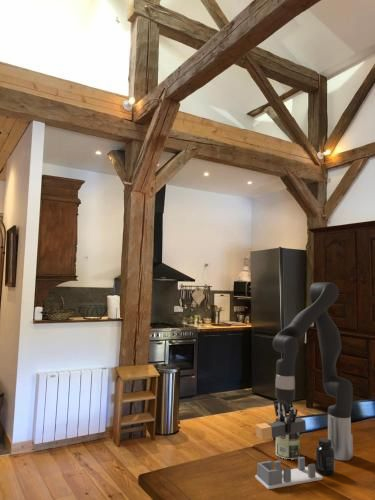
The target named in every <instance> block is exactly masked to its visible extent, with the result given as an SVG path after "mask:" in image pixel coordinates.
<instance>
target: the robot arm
mask: <svg viewBox="0 0 375 500" xmlns="http://www.w3.org/2000/svg"><path fill="white" fill-rule="evenodd" d="M339 293H340V291H339V288H338V285H336V284H335V283H333V282H328V281H327V282H320V281H319V282H313V283H312V284H311V285H310V287H309V298H310V299H309V300H310V303H311V304H310V305H309V306H307V307H305V308H304V309H303V310H301V311H300V312H299V313H297V315H295V317H294V318H293V319H292V321H291V322H290V323H289V324H288V325H287V326H285V327H283V329H282V330H280V331H279V332H278V333H277V334H276V335H275V336H274V338H273V340H272V347H273V350H275V352H278V353H281V354H283V357H282V358H279V359H277V360H276V364H275V368H276V371H275V373H276V374H275V392H274V395H275V398H276V399H277V400H273V407H274V413H275V416H276V417H277V418H278V419H279V422H281V421H285V433H291V423H295V420H296V418H297V416H298V412H299V411H298V409H297V408H294V405H293V401H294V400H295V399H296V380H295V363H296V360H297V356H298V353H299V342H298V340H297V339H301V338H303V337H304V336H305V334H306V333H307V331H309V328H311V326H312V325H313V324H314V322H315V324H316V325H315V326H316V331H317V339H318V345H319V350H320V356H321V357H320V358H321V367H322V368H321V369H322V386H323V391H324V392H325V394H327V396H329V397H331V398H334V399H335V404H332V405H329V406H328V407H327V439H329V440H331V444H332V446H331V447H332V448H333V449H334V458H335V460H336V461H337V460H338V461H344V462H345V461H350V460H351V459H353V458H354V442H353V441H354V438H353V436H354V435H353V434H352V433H351V431H352V429H351V427H352V425H351V423H352V421H351V419H352V418H351V413H352V409H353V399H354V398H353V397H354V393H353V392H354V390H353V384H352V382H351V381H350V380H349V379H348V378H345V377H341V376H338V372H337V360H338V358H339V356H340V353H341V351H342V337H341V334H340V330H339V328H338V326H337V325H336V324H335V321H333V319H332V317H331V316H330V315H329V312H328V309H329V308H330V307H331V306H332V305H334V303H335V302H336V301H337V300H338V298H339ZM287 417H288V419H287ZM292 418H293V419H292ZM284 419H285V420H284Z"/></svg>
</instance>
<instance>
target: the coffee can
mask: <svg viewBox="0 0 375 500" xmlns="http://www.w3.org/2000/svg"><path fill="white" fill-rule="evenodd" d="M288 418H289V417H287V419H288ZM292 419H293V418H292ZM284 420H285V419H284ZM275 422H279V419H278V417H277V418H275V421H274V423H275ZM300 450H301V449H300V432H298V433H294V434H289V435H284V436H279V437H275V453H274V454H275V455H276V456H277V457H278V456H279V457H278V458H280V457H281V459H283V458H284V459H283V460H287V459H291V460H290V461H294V459H295V460H298V457H301V455H300Z"/></svg>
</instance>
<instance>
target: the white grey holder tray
mask: <svg viewBox="0 0 375 500" xmlns="http://www.w3.org/2000/svg"><path fill="white" fill-rule="evenodd" d="M256 464H257V465H256V468H257V469H256V475H254V478H255V479H256V480H257V481H258V482H259V483H261V485H262V486H264V487H265V488H266V489H267V490H273V489H276V488H282V487H283V488H284V487H289V486H295V485H299V484H305V483H311V482H316V481H322V480H324V477H323V475H321V474H320V473H318V472H317V471H316V464H315V463H310V464H307V466H306V457H305V456H300V457H298V459H297V468H290V467H284V468H283V469H282V461H281V460H274V461H272V460H267V461H261V462H257V463H256Z"/></svg>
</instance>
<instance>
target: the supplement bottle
mask: <svg viewBox="0 0 375 500" xmlns="http://www.w3.org/2000/svg"><path fill="white" fill-rule="evenodd" d="M331 446H332V444H331V440H329V439H328V438H326V437H325V438H324V437H321V438H319V439H318V446H316V448H315V452H316V453H315V455H316V456H315V457H316V458H315V459H316V460H315V461H316V464H315V469H316V473H318V474H319V475H321V476H327V477H328V476H329V477H330V476H331V477H332V476H333V475H335V472H336V469H335V467H336V465H335V462H336V461H335V460H336V459H335V458H334V449H333V448H332V447H331Z"/></svg>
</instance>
